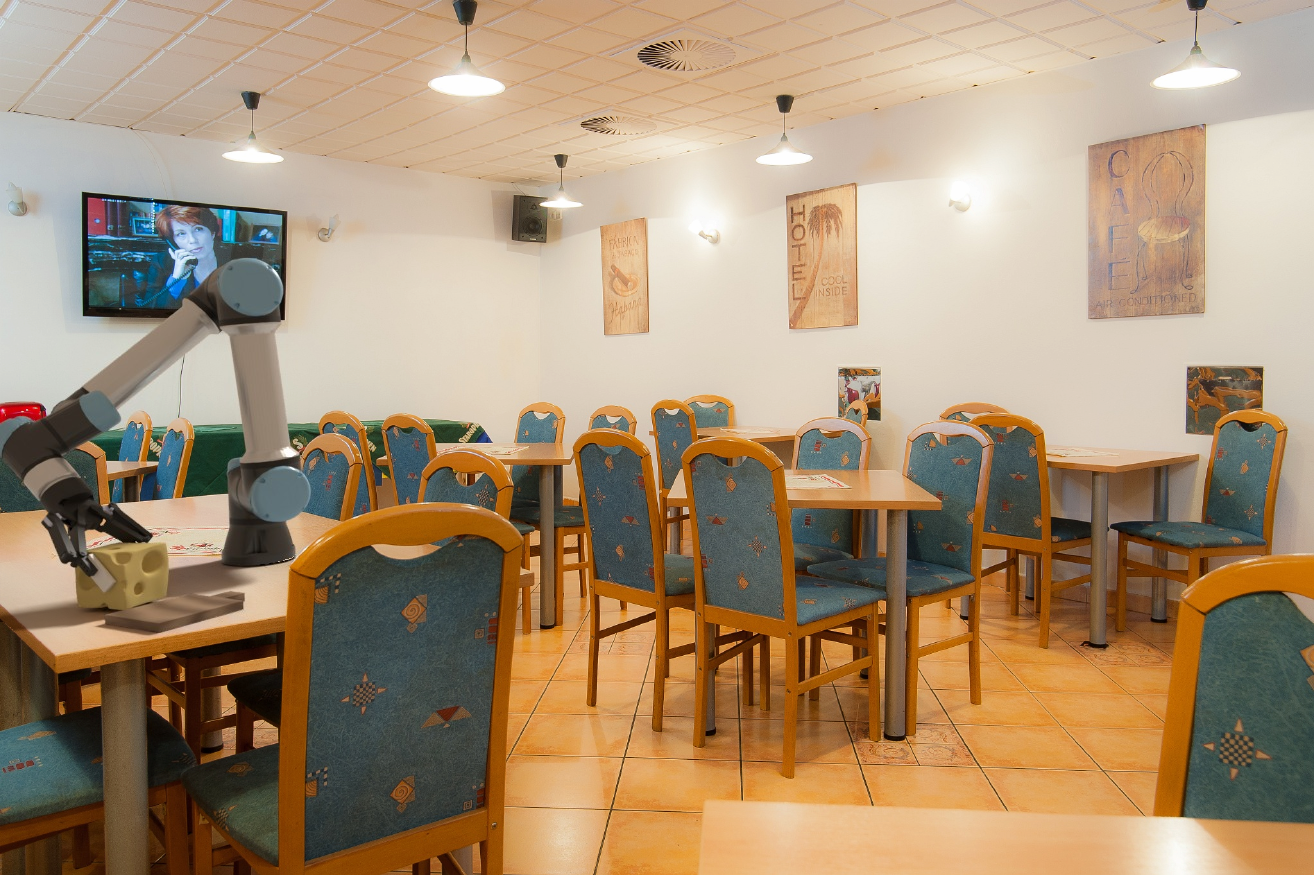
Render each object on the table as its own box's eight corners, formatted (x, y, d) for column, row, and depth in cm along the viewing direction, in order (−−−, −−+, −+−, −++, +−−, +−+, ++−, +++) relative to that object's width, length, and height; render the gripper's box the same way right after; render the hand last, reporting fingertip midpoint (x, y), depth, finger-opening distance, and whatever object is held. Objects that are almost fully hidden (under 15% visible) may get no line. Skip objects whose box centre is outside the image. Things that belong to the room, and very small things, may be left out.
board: (212, 596, 165) (212, 588, 164) (263, 603, 159) (263, 595, 159) (105, 623, 146) (104, 614, 146) (158, 632, 141) (158, 623, 141)
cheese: (125, 611, 152) (122, 553, 151) (72, 608, 154) (69, 551, 153) (171, 596, 162) (168, 541, 161) (121, 593, 164) (118, 540, 163)
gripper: (103, 495, 172) (174, 579, 169) (-13, 513, 149) (67, 610, 147) (124, 468, 170) (196, 553, 167) (10, 482, 148) (91, 580, 145)
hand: (136, 580), depth 157 cm, fingers closed on cheese, 10 cm apart
